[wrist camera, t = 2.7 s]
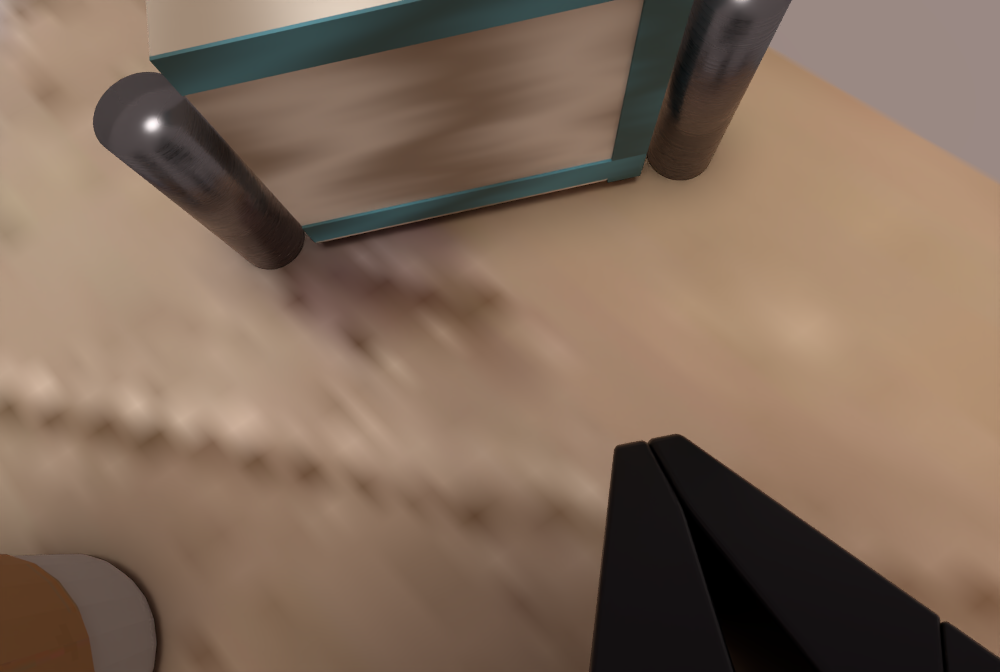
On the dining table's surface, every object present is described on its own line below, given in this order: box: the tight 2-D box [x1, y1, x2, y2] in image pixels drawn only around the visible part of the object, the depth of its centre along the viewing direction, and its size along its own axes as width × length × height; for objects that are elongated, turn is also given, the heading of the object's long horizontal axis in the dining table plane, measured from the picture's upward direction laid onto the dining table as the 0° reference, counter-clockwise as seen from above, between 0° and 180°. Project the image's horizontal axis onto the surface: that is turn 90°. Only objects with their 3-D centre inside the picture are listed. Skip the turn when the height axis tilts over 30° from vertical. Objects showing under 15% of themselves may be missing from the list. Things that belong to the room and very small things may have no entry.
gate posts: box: [93, 0, 791, 269], centre depth 19 cm, size 18×2×8 cm, turn 102°
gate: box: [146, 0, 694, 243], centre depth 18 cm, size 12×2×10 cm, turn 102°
